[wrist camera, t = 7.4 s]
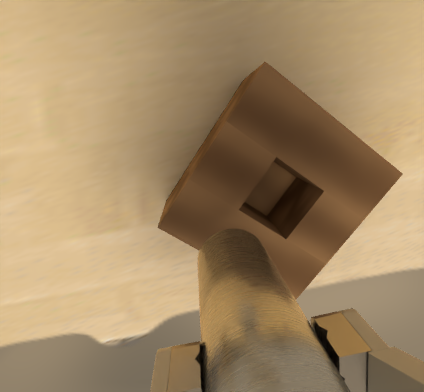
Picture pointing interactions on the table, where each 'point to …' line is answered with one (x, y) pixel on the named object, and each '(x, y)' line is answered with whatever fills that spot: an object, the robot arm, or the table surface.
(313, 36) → the table surface
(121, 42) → the table surface
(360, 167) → the bore block
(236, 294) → the pin
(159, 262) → the table surface
